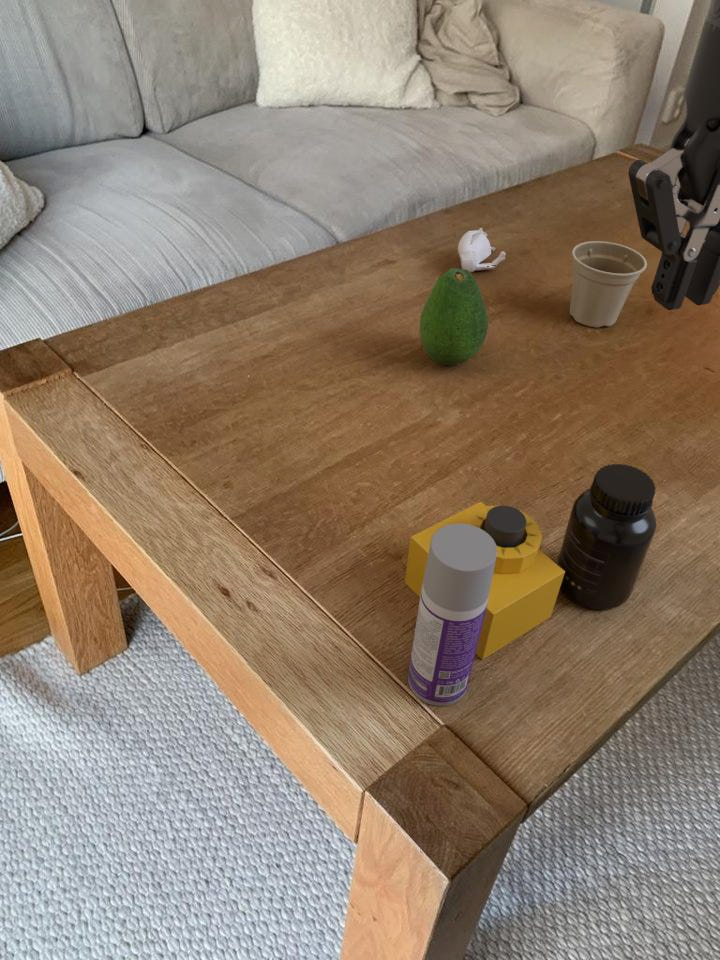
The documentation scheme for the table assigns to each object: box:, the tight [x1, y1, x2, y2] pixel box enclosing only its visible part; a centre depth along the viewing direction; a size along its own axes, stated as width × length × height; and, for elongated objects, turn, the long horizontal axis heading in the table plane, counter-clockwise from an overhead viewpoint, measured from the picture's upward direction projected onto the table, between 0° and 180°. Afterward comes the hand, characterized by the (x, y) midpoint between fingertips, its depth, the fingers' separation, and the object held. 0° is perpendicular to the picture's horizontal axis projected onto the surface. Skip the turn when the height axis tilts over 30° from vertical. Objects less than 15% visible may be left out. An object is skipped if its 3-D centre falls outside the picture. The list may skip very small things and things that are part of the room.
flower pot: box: [569, 240, 648, 329], centre depth 107 cm, size 9×9×9 cm
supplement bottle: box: [556, 463, 657, 611], centre depth 69 cm, size 7×7×12 cm
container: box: [407, 524, 497, 707], centre depth 59 cm, size 5×5×15 cm
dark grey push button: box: [484, 505, 526, 548], centre depth 66 cm, size 3×3×2 cm
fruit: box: [419, 267, 489, 366], centre depth 95 cm, size 8×8×12 cm
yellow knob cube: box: [404, 501, 565, 661], centre depth 68 cm, size 10×8×8 cm
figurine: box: [457, 227, 506, 273], centre depth 118 cm, size 6×6×12 cm
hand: (680, 301), depth 56 cm, fingers closed
